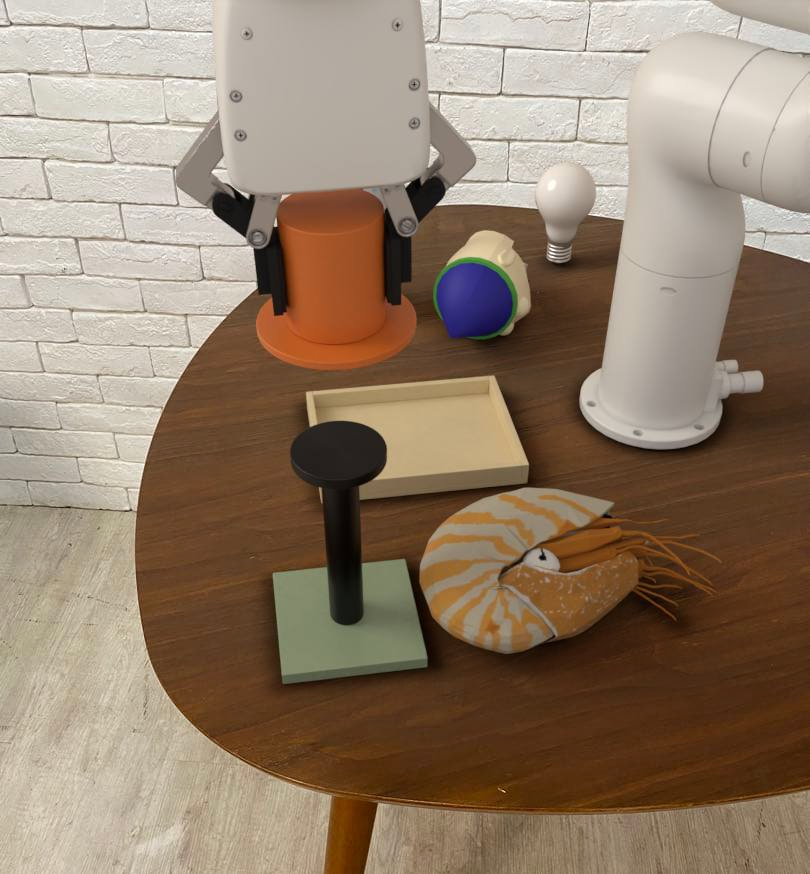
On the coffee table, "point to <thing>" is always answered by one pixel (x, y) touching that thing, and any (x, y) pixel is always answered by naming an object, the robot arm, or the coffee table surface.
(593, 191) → the lightbulb
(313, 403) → the tray
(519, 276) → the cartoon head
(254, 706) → the coffee table surface
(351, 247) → the hat
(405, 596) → the hat stand
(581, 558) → the nautilus
